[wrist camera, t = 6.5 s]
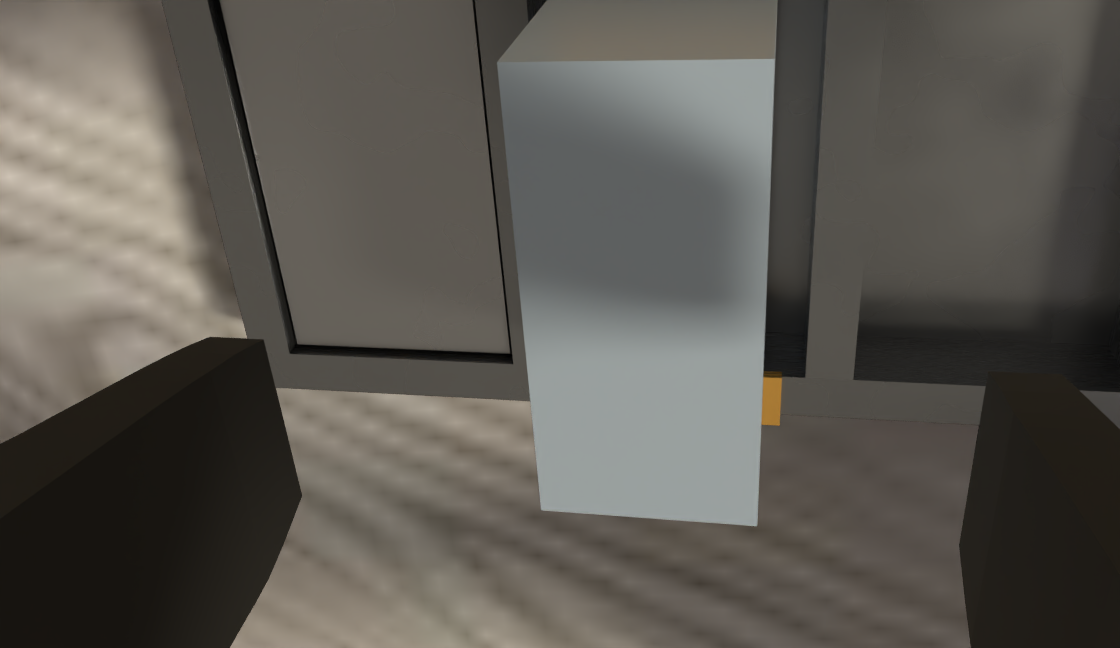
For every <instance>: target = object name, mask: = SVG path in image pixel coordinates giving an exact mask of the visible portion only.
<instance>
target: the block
mask: <svg viewBox="0 0 1120 648" xmlns="http://www.w3.org/2000/svg"><path fill="white" fill-rule="evenodd" d="M777 3H778V0H547V1H546V2H545V3H544V5H543V6H542V7H541V8H540V10H539V11H538V12H537V13H536V15H535V16H534V17H533V18H532V20H531V21H530V22H529V23H528V24H527V26H526V27H525V28H524V29H523V31H522V32H521V33H520V34H519V36H518V37H517V38H516V39H515V41H514V42H513V43H512V44H511V46H510V47H509V48H508V49H507V50H506V52H505V53H504V54H503V55H502V57H501V58H500V59H499V60H498V62H497V68H498V78H499V88H500V98H501V108H502V118H503V128H504V139H505V149H506V159H507V169H508V179H509V189H510V199H511V210H512V220H513V230H514V240H515V250H516V260H517V270H518V281H519V291H520V301H521V311H522V321H523V331H524V341H525V352H526V362H527V372H528V382H529V392H530V402H531V412H532V423H533V433H534V443H535V453H536V463H537V473H538V483H539V494H540V504H541V510H544V511H557V512H571V513H584V514H598V515H611V516H625V517H638V518H652V519H665V520H679V521H693V522H706V523H720V524H733V525H747V526H757V521H758V497H759V472H760V447H761V422H762V398H763V373H764V348H765V323H766V298H767V271H768V244H769V217H770V190H771V164H772V137H773V110H774V83H775V56H776V29H777Z"/></svg>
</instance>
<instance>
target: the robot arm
mask: <svg viewBox="0 0 1120 648" xmlns="http://www.w3.org/2000/svg"><path fill="white" fill-rule="evenodd" d="M301 497H302V494H301V490H300V485H299V481H298V477H297V473H296V469H295V465H294V461H293V457H292V453H291V449H290V445H289V441H288V436H287V432H286V428H285V424H284V420H283V416H282V412H281V408H280V404H279V400H278V396H277V392H276V387H275V383H274V379H273V375H272V371H271V367H270V363H269V359H268V355H267V351H266V347H265V343H264V339H244V338H221V337H209V338H206V339H204V340H201V341H199V342H196V343H194V344H191V345H189V346H187V347H185V348H182V349H180V350H178V351H176V352H174V353H172V354H170V355H168V356H166V357H164V358H162V359H160V360H158V361H156V362H154V363H152V364H150V365H148V366H146V367H144V368H142V369H140V370H138V371H137V372H135V373H133V374H131V375H129V376H127V377H125V378H123V379H122V380H120V381H118V382H116V383H114V384H112V385H110V386H109V387H107V388H105V389H103V390H101V391H99V392H97V393H96V394H94V395H92V396H90V397H88V398H86V399H84V400H83V401H81V402H79V403H77V404H75V405H73V406H71V407H69V408H68V409H66V410H64V411H62V412H60V413H58V414H56V415H55V416H53V417H51V418H49V419H47V420H45V421H43V422H42V423H40V424H38V425H36V426H34V427H32V428H30V429H29V430H27V431H25V432H23V433H21V434H19V435H17V436H15V437H13V438H11V439H9V440H7V441H5V442H3V443H1V444H0V648H230V646H231V645H232V643H233V641H234V639H235V638H236V636H237V634H238V632H239V631H240V629H241V627H242V625H243V624H244V622H245V620H246V618H247V617H248V615H249V613H250V611H251V610H252V608H253V606H254V604H255V603H256V601H257V599H258V597H259V595H260V594H261V592H262V590H263V588H264V586H265V585H266V583H267V581H268V579H269V577H270V574H271V572H272V570H273V567H274V565H275V563H276V560H277V558H278V556H279V553H280V551H281V549H282V546H283V544H284V542H285V539H286V536H287V534H288V531H289V529H290V526H291V523H292V521H293V518H294V516H295V513H296V510H297V508H298V505H299V502H300V500H301ZM959 548H960V557H961V567H962V576H963V585H964V595H965V604H966V612H967V620H968V628H969V636H970V644H971V648H1120V429H1119V428H1118V427H1117V426H1116V425H1115V424H1114V423H1113V422H1112V421H1111V420H1110V419H1109V418H1108V417H1107V416H1106V415H1105V414H1104V413H1103V412H1101V411H1100V410H1099V409H1098V408H1097V407H1096V406H1095V405H1094V404H1093V403H1092V402H1091V401H1090V400H1089V399H1088V398H1087V397H1086V396H1085V395H1084V394H1083V393H1082V392H1080V391H1079V390H1078V389H1077V388H1076V387H1075V386H1074V385H1073V384H1072V383H1071V382H1069V381H1068V380H1067V379H1066V378H1065V377H1064V376H1063V375H1061V374H1038V373H1015V372H993V371H988V375H987V381H986V387H985V393H984V399H983V405H982V411H981V417H980V423H979V429H978V435H977V441H976V447H975V453H974V459H973V465H972V471H971V477H970V483H969V489H968V496H967V502H966V508H965V514H964V520H963V526H962V532H961V538H960V544H959Z"/></svg>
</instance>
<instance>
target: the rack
mask: <svg viewBox="0 0 1120 648" xmlns="http://www.w3.org/2000/svg"><path fill="white" fill-rule="evenodd" d="M161 1H162V4H163V8H164V12H165V16H166V20H167V24H168V28H169V32H170V36H171V40H172V44H173V48H174V52H175V56H176V59H177V63H178V67H179V71H180V75H181V79H182V83H183V87H184V91H185V95H186V99H187V103H188V107H189V111H190V115H191V118H192V122H193V126H194V130H195V134H196V138H197V142H198V146H199V150H200V154H201V158H202V162H203V166H204V170H205V173H206V177H207V181H208V185H209V189H210V193H211V197H212V201H213V205H214V209H215V213H216V217H217V221H218V225H219V229H220V232H221V236H222V240H223V244H224V248H225V252H226V256H227V260H228V264H229V268H230V272H231V276H232V280H233V284H234V287H235V291H236V295H237V299H238V303H239V307H240V311H241V315H242V319H243V323H244V327H245V331H246V335H247V339H264V343H265V347H266V351H267V355H268V359H269V363H270V367H271V371H272V375H273V379H274V383H275V387H276V388H293V389H312V390H331V391H349V392H368V393H387V394H406V395H425V396H443V397H462V398H481V399H500V400H518V401H530V392H529V382H528V372H527V362H526V352H525V341H524V331H523V321H522V311H521V301H520V291H519V281H518V270H517V260H516V250H515V240H514V230H513V220H512V210H511V199H510V189H509V179H508V169H507V159H506V149H505V139H504V128H503V118H502V108H501V98H500V88H499V78H498V68H497V62H498V60H499V59H500V58H501V57H502V55H503V54H504V53H505V52H506V50H507V49H508V48H509V47H510V46H511V44H512V43H513V42H514V41H515V39H516V38H517V37H518V36H519V34H520V33H521V32H522V31H523V29H524V28H525V27H526V26H527V24H528V23H529V22H530V21H531V20H532V18H533V17H534V16H535V15H536V13H537V12H538V11H539V10H540V8H541V7H542V6H543V5H544V3H545V2H546V1H547V0H161ZM988 371H993V372H1015V373H1038V374H1061V375H1063V376H1064V377H1065V378H1066V379H1067V380H1068V381H1069V382H1071V383H1072V384H1073V385H1074V386H1075V387H1076V388H1077V389H1078V390H1079V391H1080V392H1082V393H1083V394H1084V395H1085V396H1086V397H1087V398H1088V399H1089V400H1090V401H1091V402H1092V403H1093V404H1094V405H1095V406H1096V407H1097V408H1098V409H1099V410H1100V411H1101V412H1103V413H1104V414H1105V415H1106V416H1107V417H1108V418H1109V419H1110V420H1111V421H1112V422H1113V423H1114V424H1115V425H1116V426H1117V427H1118V428H1119V429H1120V0H778V3H777V29H776V56H775V83H774V110H773V137H772V164H771V190H770V217H769V244H768V271H767V298H766V323H765V348H764V373H763V398H762V422H761V425H777V426H780V414H781V415H800V416H819V417H838V418H856V419H875V420H894V421H913V422H931V423H950V424H969V425H979V423H980V417H981V411H982V405H983V399H984V393H985V387H986V381H987V375H988Z"/></svg>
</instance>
